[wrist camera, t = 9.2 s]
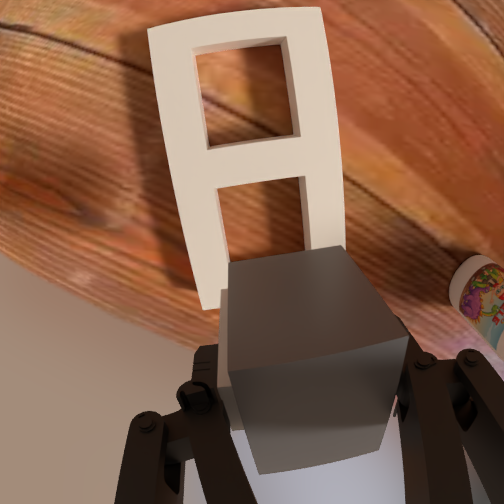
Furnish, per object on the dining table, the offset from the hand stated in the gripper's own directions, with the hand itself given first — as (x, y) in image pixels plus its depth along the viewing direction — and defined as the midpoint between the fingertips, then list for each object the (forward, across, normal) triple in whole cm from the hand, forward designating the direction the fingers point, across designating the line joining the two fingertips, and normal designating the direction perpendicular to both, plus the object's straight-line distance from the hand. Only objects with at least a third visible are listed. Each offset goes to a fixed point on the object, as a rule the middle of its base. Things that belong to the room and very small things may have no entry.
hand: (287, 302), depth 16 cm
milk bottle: (+13, +25, -11) cm, 30 cm away
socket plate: (+13, 0, +6) cm, 14 cm away
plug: (0, 0, 0) cm, 0 cm away
